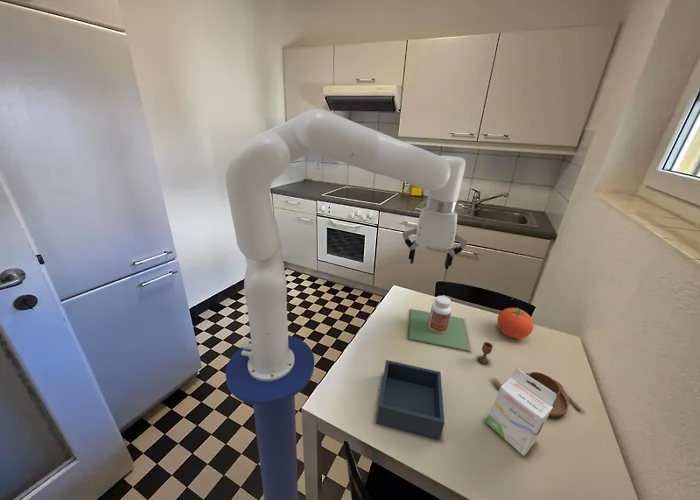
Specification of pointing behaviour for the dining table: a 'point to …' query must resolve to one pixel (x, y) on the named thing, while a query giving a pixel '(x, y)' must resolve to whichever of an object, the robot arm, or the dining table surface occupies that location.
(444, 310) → the pill bottle
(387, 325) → the dining table surface
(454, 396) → the dining table surface
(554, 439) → the dining table surface
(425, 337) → the mat
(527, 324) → the tomato
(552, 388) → the place setting
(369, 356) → the dining table surface
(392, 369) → the blue open box
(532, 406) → the ink box
